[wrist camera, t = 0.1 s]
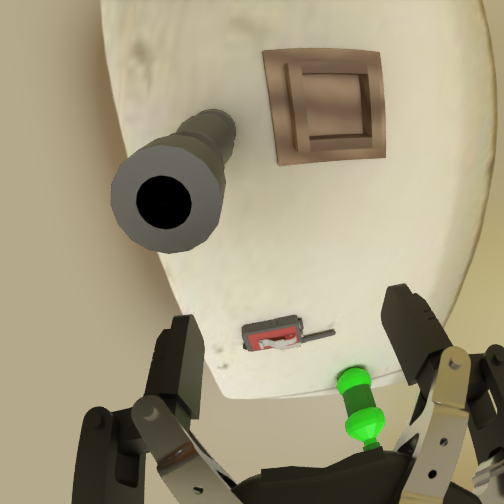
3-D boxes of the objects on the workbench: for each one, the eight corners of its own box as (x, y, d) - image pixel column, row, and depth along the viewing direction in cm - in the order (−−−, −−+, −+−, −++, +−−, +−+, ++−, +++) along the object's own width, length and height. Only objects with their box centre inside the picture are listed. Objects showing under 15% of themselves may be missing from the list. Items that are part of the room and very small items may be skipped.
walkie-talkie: (245, 348, 58) (334, 330, 56) (246, 364, 55) (339, 346, 53) (235, 324, 54) (333, 303, 52) (235, 341, 50) (339, 319, 48)
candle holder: (213, 99, 31) (158, 111, 10) (245, 131, 33) (256, 204, 13) (180, 131, 33) (86, 205, 12) (212, 162, 36) (172, 277, 15)
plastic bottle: (348, 360, 63) (373, 445, 42) (374, 364, 66) (400, 440, 45) (326, 379, 68) (343, 459, 47) (352, 382, 71) (372, 455, 50)
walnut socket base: (262, 52, 27) (265, 46, 24) (375, 52, 27) (390, 50, 23) (278, 164, 36) (282, 172, 33) (382, 155, 35) (395, 163, 32)
